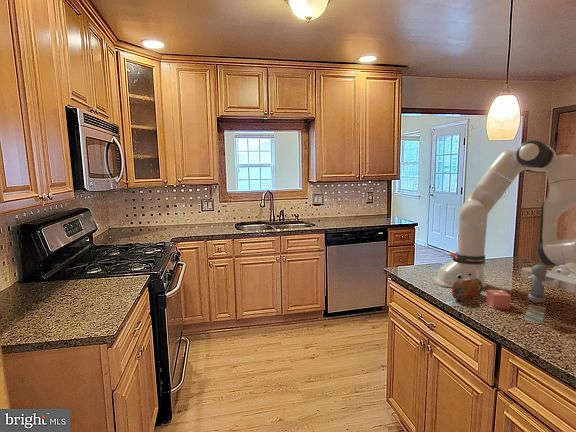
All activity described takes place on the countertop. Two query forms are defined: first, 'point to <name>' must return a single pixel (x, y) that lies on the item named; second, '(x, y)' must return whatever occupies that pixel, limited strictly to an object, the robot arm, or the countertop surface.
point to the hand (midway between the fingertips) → (536, 281)
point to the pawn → (538, 283)
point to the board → (535, 313)
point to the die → (498, 299)
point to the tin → (466, 289)
